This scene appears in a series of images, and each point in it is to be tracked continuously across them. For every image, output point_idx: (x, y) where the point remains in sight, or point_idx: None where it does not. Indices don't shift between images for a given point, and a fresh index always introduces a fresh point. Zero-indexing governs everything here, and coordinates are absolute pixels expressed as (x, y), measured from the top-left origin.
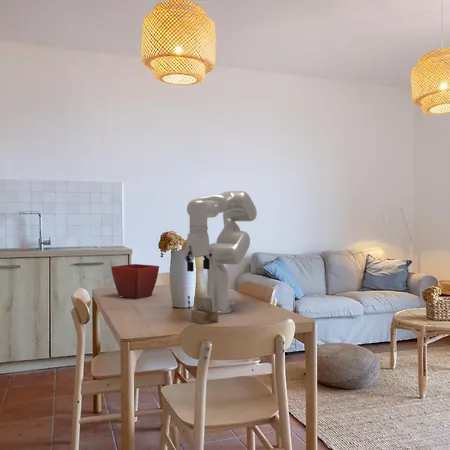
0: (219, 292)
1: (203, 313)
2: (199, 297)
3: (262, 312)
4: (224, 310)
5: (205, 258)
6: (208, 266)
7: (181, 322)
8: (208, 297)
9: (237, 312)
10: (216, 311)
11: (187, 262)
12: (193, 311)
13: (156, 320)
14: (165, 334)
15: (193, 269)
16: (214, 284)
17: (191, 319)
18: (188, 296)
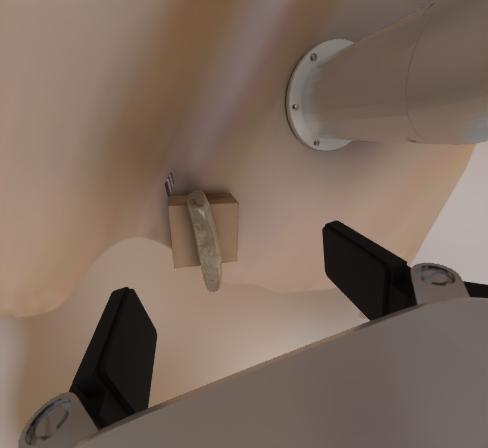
0: (362, 136)
1: (181, 266)
2: (197, 240)
3: (400, 190)
4: (332, 139)
5: (408, 306)
6: (341, 286)
7: (130, 194)
8: (216, 278)
9: (360, 152)
10: (231, 261)
11: (67, 401)
12: (169, 219)
13: (42, 109)
14: (21, 311)
15: (154, 347)
16: (379, 117)
17: (169, 197)
18: (166, 188)
